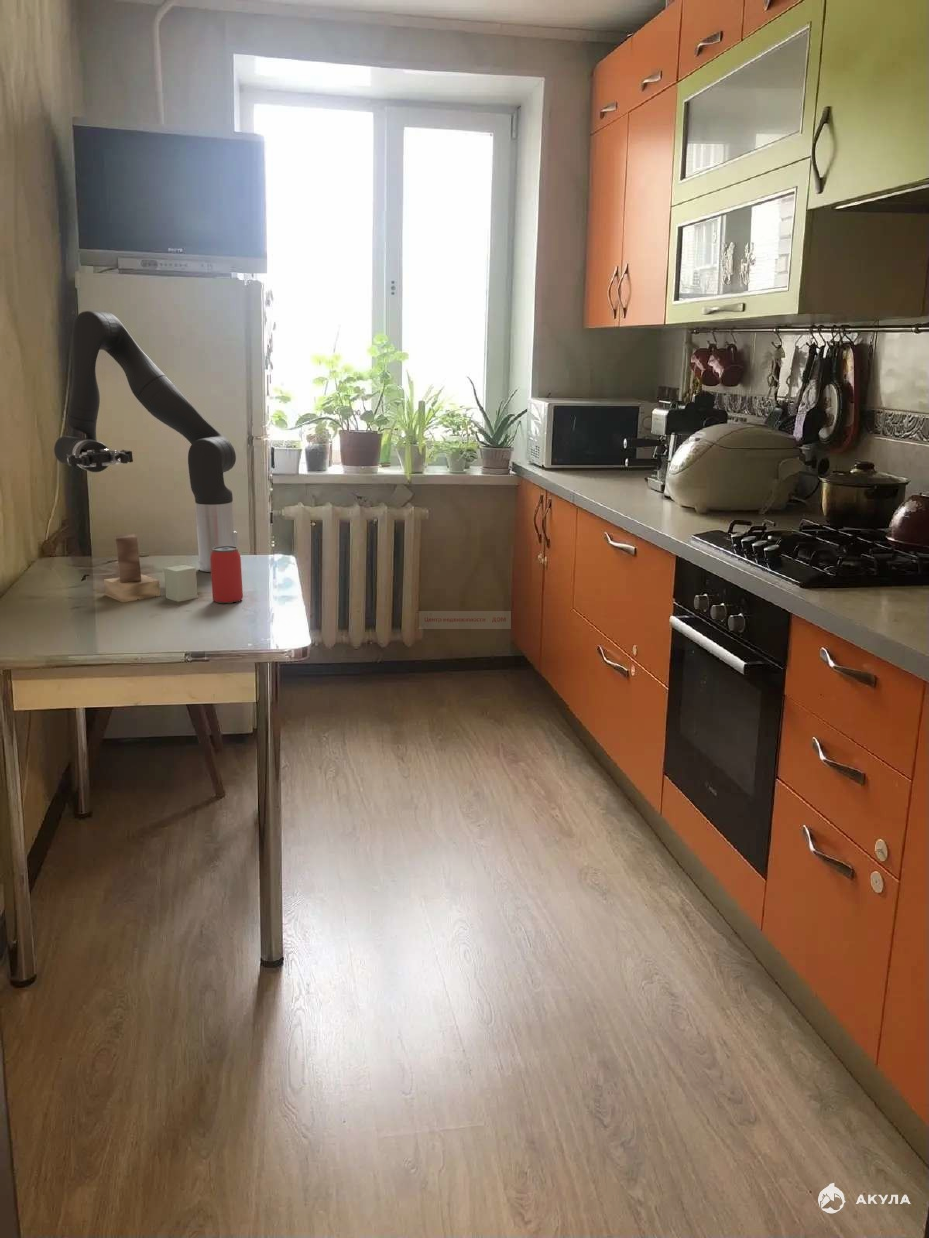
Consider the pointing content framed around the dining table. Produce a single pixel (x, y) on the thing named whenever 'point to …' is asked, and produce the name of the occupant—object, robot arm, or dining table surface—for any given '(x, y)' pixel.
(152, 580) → the oak base block
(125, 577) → the walnut pillar
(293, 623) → the dining table surface
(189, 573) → the sage green block
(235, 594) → the beer can
